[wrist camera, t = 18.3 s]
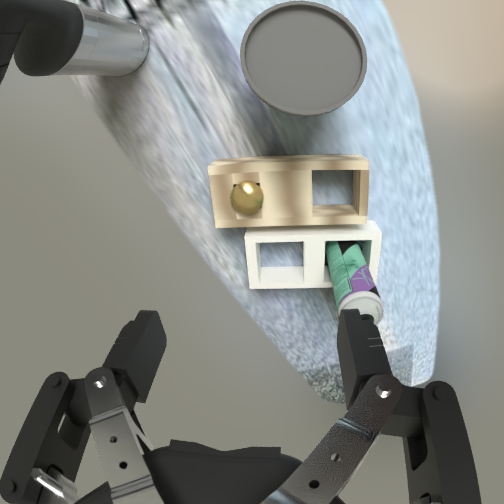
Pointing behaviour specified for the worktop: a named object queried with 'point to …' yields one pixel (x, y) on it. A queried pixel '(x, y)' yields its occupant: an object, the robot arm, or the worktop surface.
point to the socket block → (287, 190)
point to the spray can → (353, 280)
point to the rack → (307, 253)
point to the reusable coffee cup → (303, 58)
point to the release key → (247, 197)
